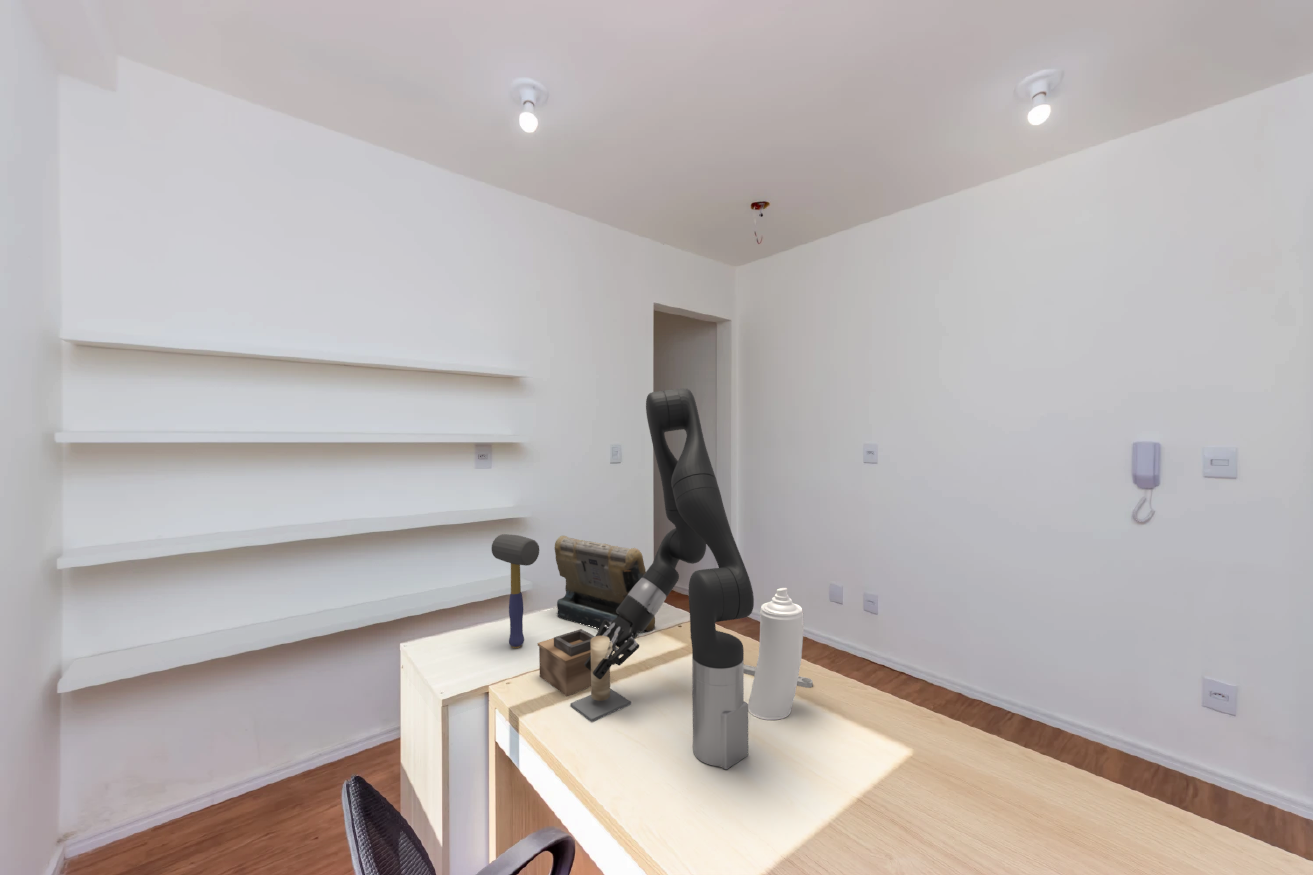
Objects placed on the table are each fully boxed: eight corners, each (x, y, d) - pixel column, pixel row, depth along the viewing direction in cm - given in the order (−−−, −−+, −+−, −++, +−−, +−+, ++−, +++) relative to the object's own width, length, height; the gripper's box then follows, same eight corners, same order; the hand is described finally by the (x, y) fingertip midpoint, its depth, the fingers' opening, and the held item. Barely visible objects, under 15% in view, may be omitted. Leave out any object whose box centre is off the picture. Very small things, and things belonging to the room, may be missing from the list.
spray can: (760, 688, 118) (760, 577, 117) (808, 700, 112) (808, 584, 112) (741, 712, 108) (741, 592, 107) (792, 727, 102) (792, 601, 102)
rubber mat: (631, 704, 111) (631, 701, 111) (591, 722, 105) (591, 719, 105) (608, 689, 117) (608, 687, 117) (570, 705, 111) (570, 703, 111)
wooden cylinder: (614, 694, 111) (613, 638, 111) (600, 702, 108) (600, 645, 108) (600, 688, 114) (600, 634, 114) (587, 696, 111) (586, 640, 110)
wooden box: (609, 679, 122) (608, 637, 122) (566, 697, 114) (565, 651, 114) (579, 661, 131) (579, 622, 131) (537, 676, 124) (537, 634, 124)
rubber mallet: (490, 645, 141) (488, 535, 140) (512, 636, 147) (511, 530, 146) (520, 657, 134) (519, 541, 133) (543, 647, 140) (541, 535, 139)
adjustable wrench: (814, 685, 120) (814, 678, 120) (806, 698, 114) (806, 690, 114) (714, 659, 133) (714, 652, 133) (703, 669, 127) (703, 662, 127)
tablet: (662, 624, 155) (661, 540, 155) (637, 641, 143) (636, 550, 143) (576, 605, 172) (575, 529, 171) (547, 619, 160) (546, 538, 159)
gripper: (616, 585, 120) (567, 650, 114) (647, 603, 108) (594, 677, 102) (636, 604, 123) (589, 668, 117) (669, 624, 111) (618, 696, 105)
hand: (592, 672), depth 110 cm, fingers closed on wooden cylinder, 3 cm apart
